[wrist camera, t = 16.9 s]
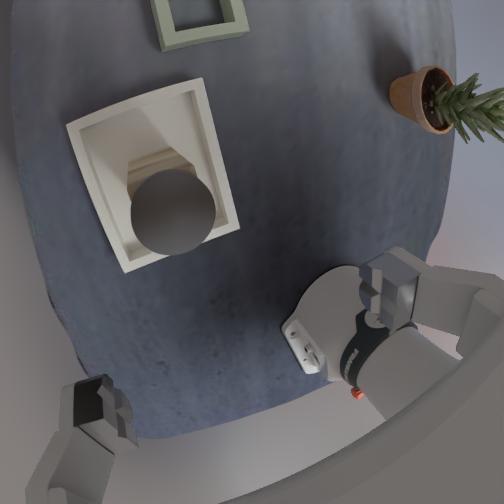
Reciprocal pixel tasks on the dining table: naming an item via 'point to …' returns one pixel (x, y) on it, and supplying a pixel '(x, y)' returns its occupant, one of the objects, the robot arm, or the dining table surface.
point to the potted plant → (447, 103)
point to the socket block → (175, 40)
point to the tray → (142, 143)
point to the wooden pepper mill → (169, 203)
